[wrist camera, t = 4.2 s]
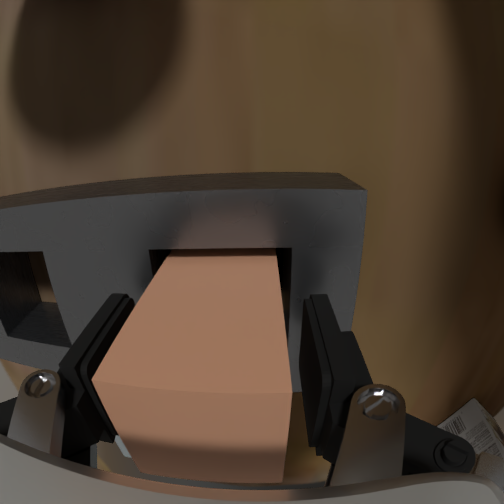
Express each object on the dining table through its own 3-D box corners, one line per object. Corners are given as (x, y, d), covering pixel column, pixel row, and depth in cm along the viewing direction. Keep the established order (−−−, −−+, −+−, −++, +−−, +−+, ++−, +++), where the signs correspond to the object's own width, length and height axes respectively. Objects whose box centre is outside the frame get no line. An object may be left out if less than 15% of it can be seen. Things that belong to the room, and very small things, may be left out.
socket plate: (338, 173, 14) (367, 190, 10) (325, 338, 17) (338, 389, 13) (-9, 198, 14) (-53, 218, 10) (25, 323, 17) (-5, 356, 14)
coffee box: (497, 418, 22) (550, 527, 7) (450, 454, 24) (490, 565, 9) (474, 394, 20) (545, 538, 5) (417, 438, 21) (463, 584, 6)
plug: (272, 226, 15) (292, 392, 5) (272, 301, 16) (282, 482, 7) (187, 227, 15) (91, 379, 5) (194, 301, 16) (140, 472, 7)
